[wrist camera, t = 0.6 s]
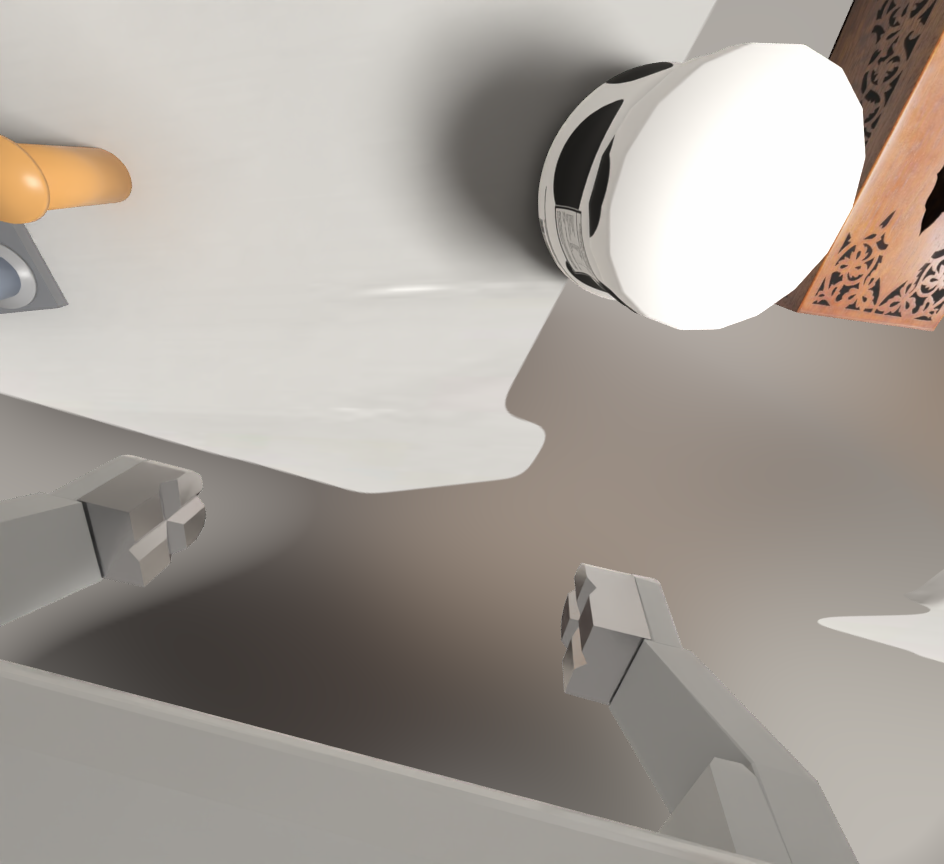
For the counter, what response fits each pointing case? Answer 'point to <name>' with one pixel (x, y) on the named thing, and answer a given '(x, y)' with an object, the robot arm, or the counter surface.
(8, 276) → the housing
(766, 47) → the milk container
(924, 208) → the tissue box cover
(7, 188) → the pin
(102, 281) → the counter surface
